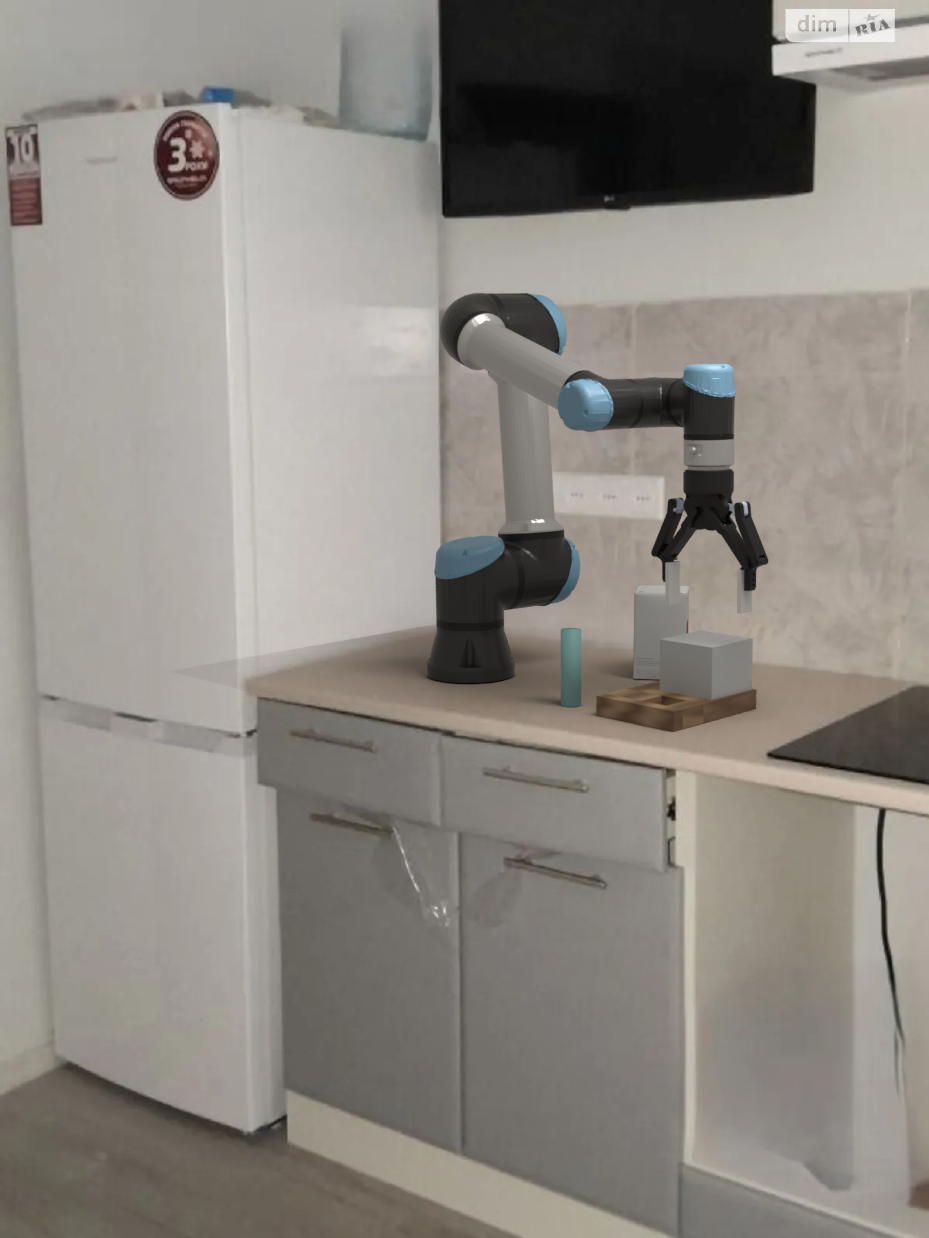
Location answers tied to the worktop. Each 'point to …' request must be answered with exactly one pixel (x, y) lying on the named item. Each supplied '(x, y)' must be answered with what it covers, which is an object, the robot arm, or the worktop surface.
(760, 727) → the worktop surface
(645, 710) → the board
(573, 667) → the peg
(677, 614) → the supplement box
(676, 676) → the grey square block
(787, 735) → the worktop surface
